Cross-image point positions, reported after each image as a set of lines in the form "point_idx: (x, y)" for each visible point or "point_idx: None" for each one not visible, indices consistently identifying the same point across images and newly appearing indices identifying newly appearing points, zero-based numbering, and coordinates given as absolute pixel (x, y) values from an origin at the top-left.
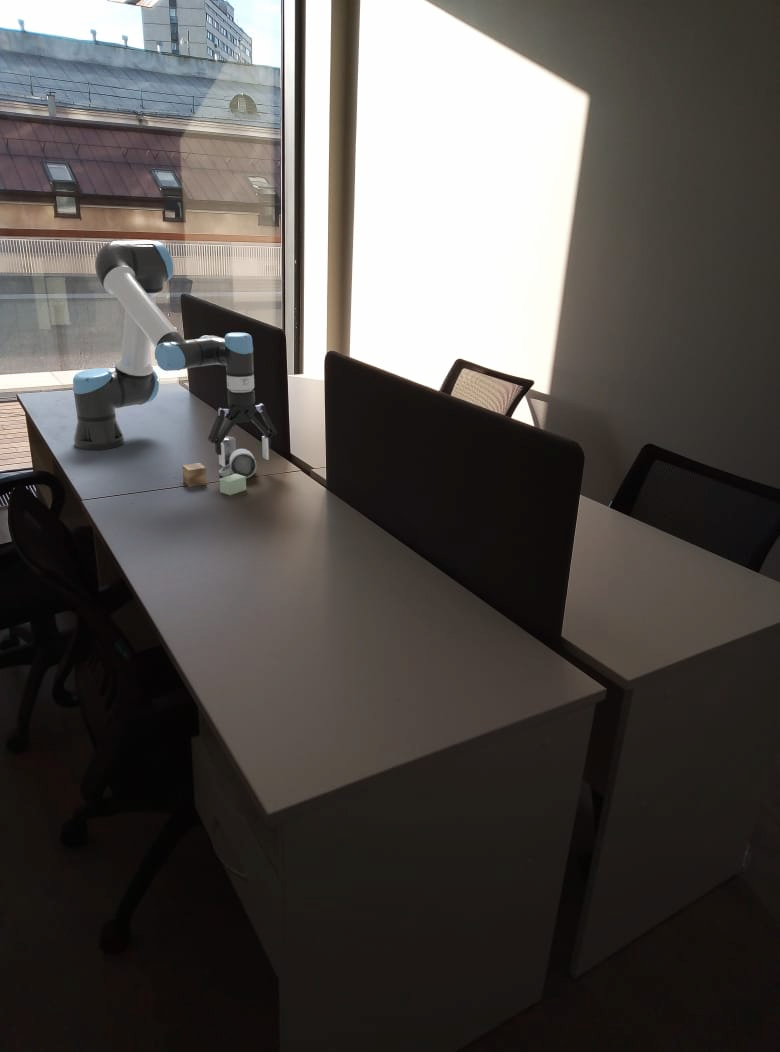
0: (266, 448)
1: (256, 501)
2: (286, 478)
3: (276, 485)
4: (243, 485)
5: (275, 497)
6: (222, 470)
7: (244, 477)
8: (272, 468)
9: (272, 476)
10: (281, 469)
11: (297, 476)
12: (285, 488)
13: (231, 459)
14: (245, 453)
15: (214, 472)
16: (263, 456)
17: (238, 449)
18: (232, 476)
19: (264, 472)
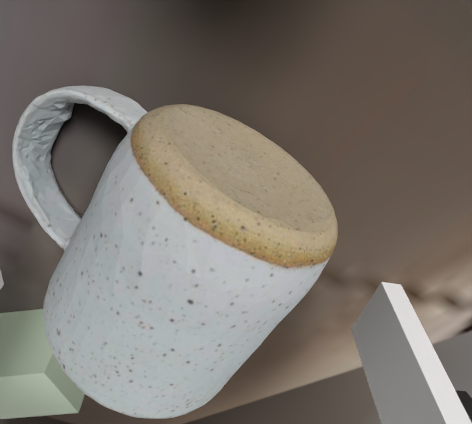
0: (384, 421)
1: (86, 416)
2: (337, 339)
3: (240, 367)
4: None
5: (162, 419)
6: (59, 111)
7: (70, 411)
8: (427, 209)
9: (311, 297)
10: (442, 249)
11: None
12: (246, 393)
13: (50, 318)
14: (152, 417)
15: (13, 14)
16: (378, 302)
17: (185, 283)
18: (9, 390)
19: None
